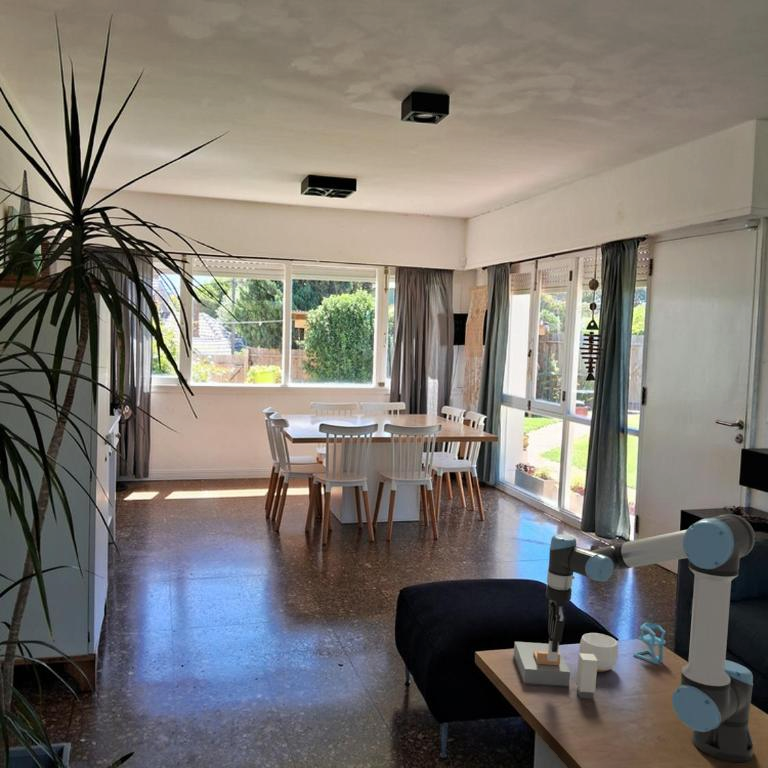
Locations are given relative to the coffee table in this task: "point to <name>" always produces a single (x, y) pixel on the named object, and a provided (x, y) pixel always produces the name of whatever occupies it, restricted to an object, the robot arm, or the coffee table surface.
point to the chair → (651, 643)
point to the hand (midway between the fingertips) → (552, 659)
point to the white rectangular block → (586, 675)
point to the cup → (600, 649)
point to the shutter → (545, 658)
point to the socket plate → (539, 666)
